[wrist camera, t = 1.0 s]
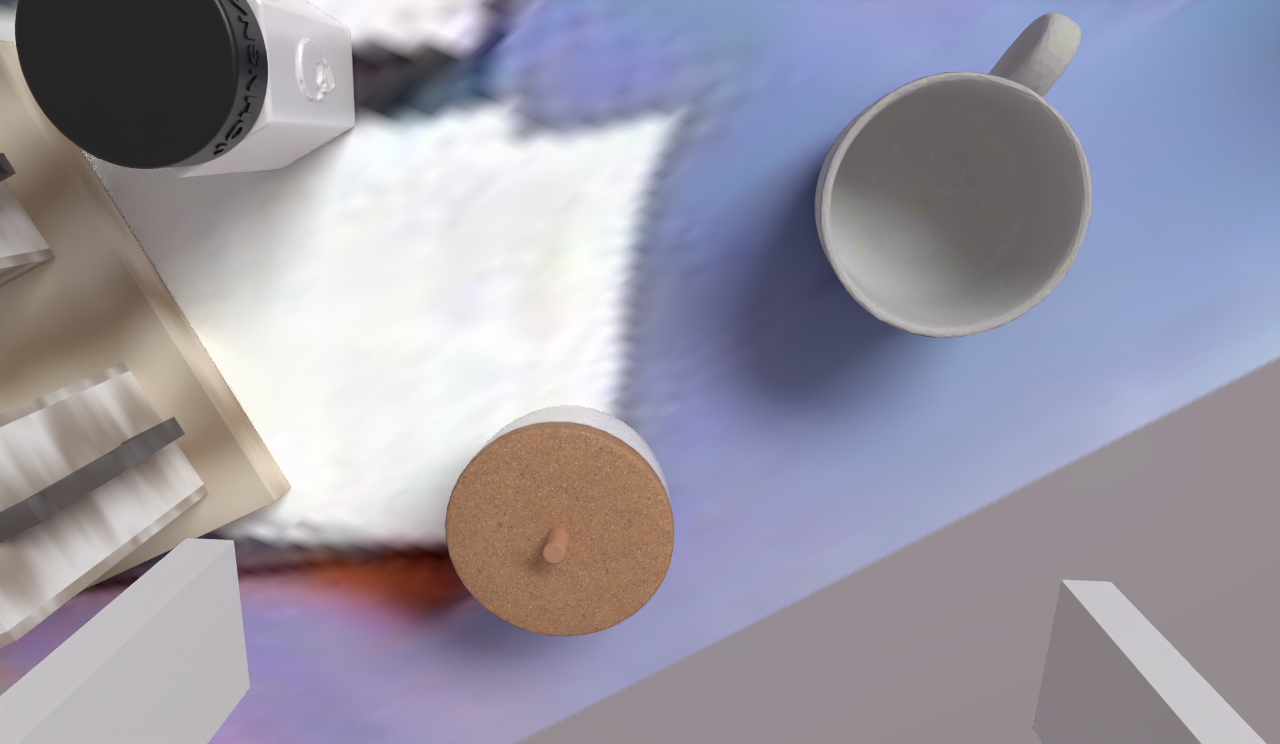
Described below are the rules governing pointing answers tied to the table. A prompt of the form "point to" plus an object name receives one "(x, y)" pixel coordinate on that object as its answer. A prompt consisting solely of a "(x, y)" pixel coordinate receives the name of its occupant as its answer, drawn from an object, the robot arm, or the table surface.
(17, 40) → the jar
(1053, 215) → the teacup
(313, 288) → the table surface
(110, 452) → the stand
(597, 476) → the lidded jar
